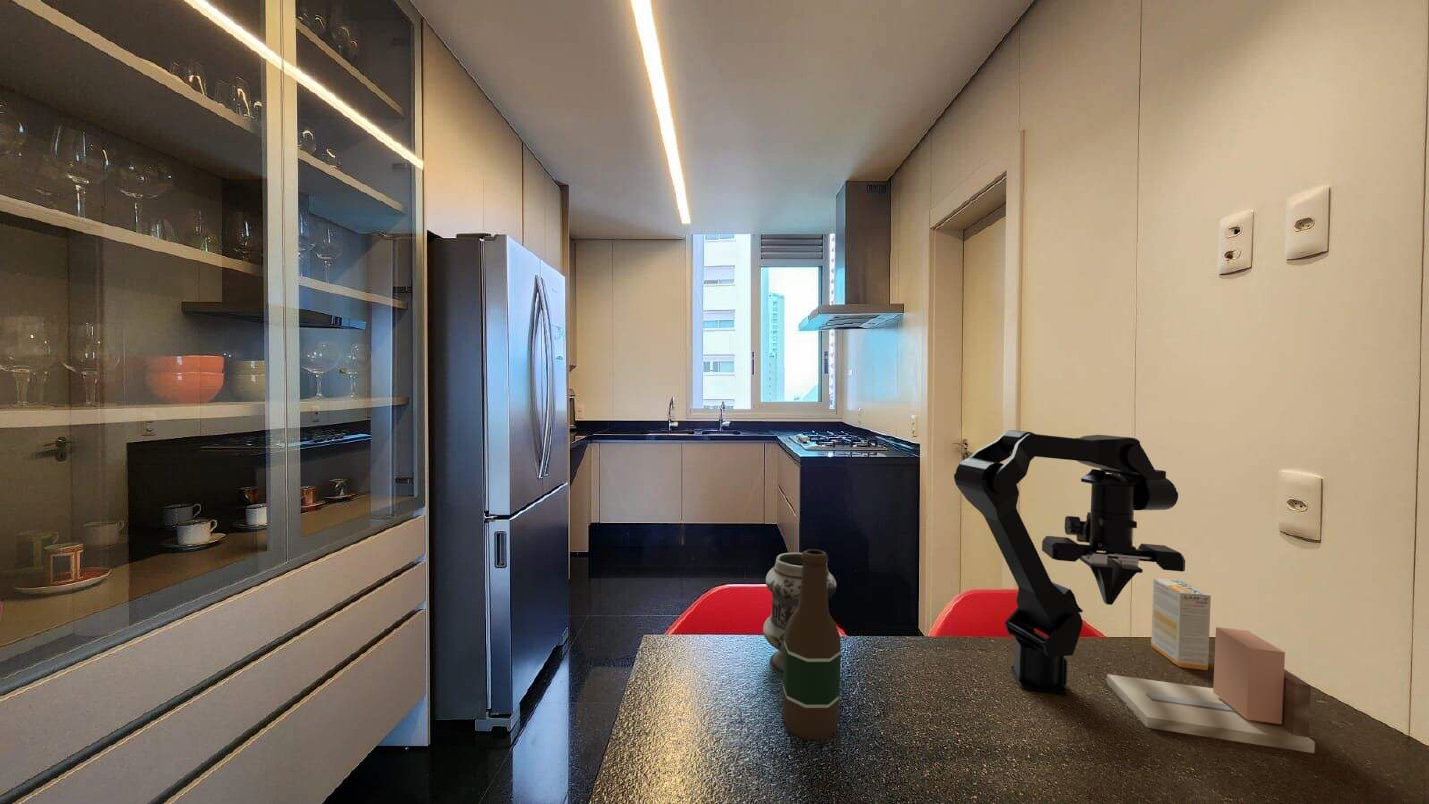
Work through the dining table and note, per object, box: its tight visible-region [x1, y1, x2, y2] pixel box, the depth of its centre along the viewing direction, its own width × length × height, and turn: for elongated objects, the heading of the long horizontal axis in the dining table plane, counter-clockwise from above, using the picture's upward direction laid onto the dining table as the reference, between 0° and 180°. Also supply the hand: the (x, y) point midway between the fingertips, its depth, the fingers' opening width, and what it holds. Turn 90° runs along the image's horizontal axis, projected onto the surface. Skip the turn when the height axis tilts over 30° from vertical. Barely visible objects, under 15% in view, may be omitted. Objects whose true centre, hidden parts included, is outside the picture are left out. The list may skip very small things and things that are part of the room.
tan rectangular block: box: [1212, 626, 1286, 724], centre depth 77 cm, size 4×7×10 cm, turn 166°
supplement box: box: [1150, 578, 1212, 671], centre depth 96 cm, size 8×5×13 cm, turn 168°
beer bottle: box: [781, 548, 842, 741], centre depth 73 cm, size 8×8×24 cm
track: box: [1106, 668, 1316, 754], centre depth 79 cm, size 19×12×8 cm, turn 76°
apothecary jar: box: [762, 552, 837, 677], centre depth 90 cm, size 12×12×18 cm
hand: (1107, 603), depth 89 cm, fingers closed
